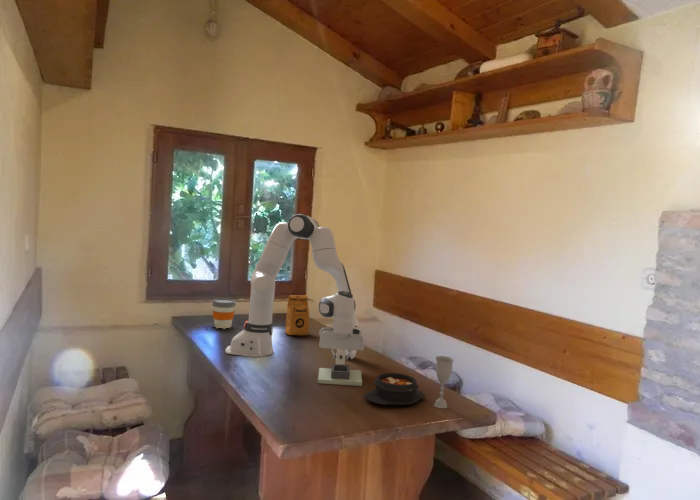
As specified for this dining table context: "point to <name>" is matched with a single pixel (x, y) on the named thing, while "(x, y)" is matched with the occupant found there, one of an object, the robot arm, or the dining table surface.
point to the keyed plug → (340, 356)
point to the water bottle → (355, 322)
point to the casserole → (395, 390)
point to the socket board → (340, 375)
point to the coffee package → (297, 315)
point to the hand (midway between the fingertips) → (340, 358)
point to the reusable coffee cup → (223, 312)
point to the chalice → (443, 377)
